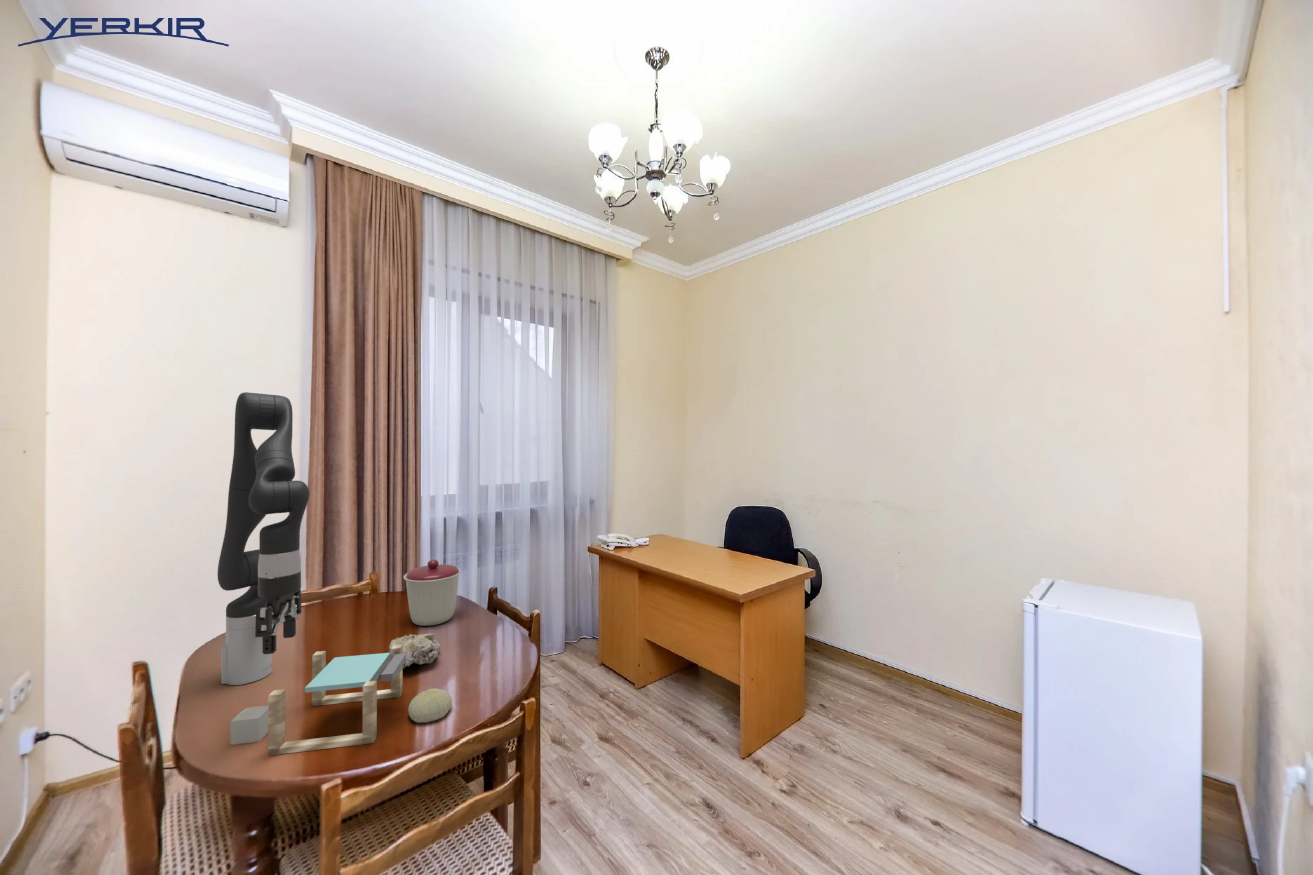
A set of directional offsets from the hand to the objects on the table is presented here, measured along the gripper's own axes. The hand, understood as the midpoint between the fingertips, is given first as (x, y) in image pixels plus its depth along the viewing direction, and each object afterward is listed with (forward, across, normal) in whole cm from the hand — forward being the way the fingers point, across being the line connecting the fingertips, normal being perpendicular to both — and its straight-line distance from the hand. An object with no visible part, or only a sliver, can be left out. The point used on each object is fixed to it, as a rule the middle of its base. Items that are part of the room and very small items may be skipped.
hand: (279, 644), depth 106 cm
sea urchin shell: (+18, +3, +31) cm, 36 cm away
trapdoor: (+8, +2, +17) cm, 18 cm away
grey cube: (+18, +3, -4) cm, 18 cm away
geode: (+18, -25, +22) cm, 38 cm away
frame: (+18, +2, +13) cm, 22 cm away
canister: (+18, -57, +20) cm, 63 cm away
